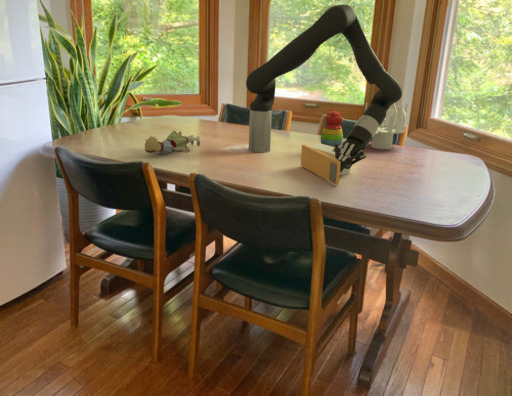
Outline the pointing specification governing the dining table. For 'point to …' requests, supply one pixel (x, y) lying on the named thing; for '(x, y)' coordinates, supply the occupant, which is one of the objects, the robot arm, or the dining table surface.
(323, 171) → the side door
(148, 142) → the figurine
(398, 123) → the decorative object
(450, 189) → the dining table surface
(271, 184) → the dining table surface
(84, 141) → the dining table surface
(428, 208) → the dining table surface
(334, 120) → the stacking bear
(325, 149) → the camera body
